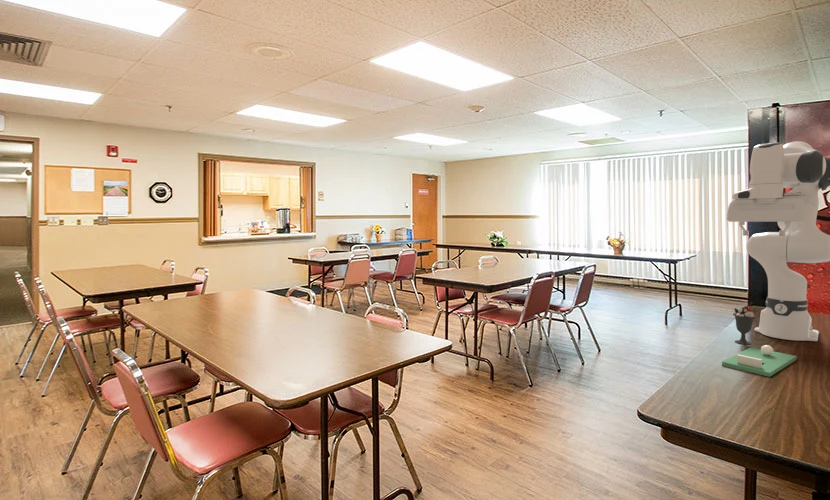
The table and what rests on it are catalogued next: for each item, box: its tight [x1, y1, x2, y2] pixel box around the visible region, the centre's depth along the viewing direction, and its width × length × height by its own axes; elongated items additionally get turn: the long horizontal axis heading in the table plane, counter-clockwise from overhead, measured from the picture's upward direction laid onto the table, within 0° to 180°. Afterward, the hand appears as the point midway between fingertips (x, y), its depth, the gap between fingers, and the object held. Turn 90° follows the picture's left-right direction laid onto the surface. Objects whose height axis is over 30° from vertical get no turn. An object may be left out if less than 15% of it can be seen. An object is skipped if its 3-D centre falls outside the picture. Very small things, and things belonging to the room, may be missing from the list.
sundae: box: [732, 301, 757, 346], centre depth 159 cm, size 7×7×15 cm
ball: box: [760, 344, 774, 355], centre depth 142 cm, size 3×3×3 cm
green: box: [721, 346, 797, 378], centre depth 139 cm, size 24×12×4 cm, turn 125°
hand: (763, 235), depth 145 cm, fingers open, 8 cm apart
